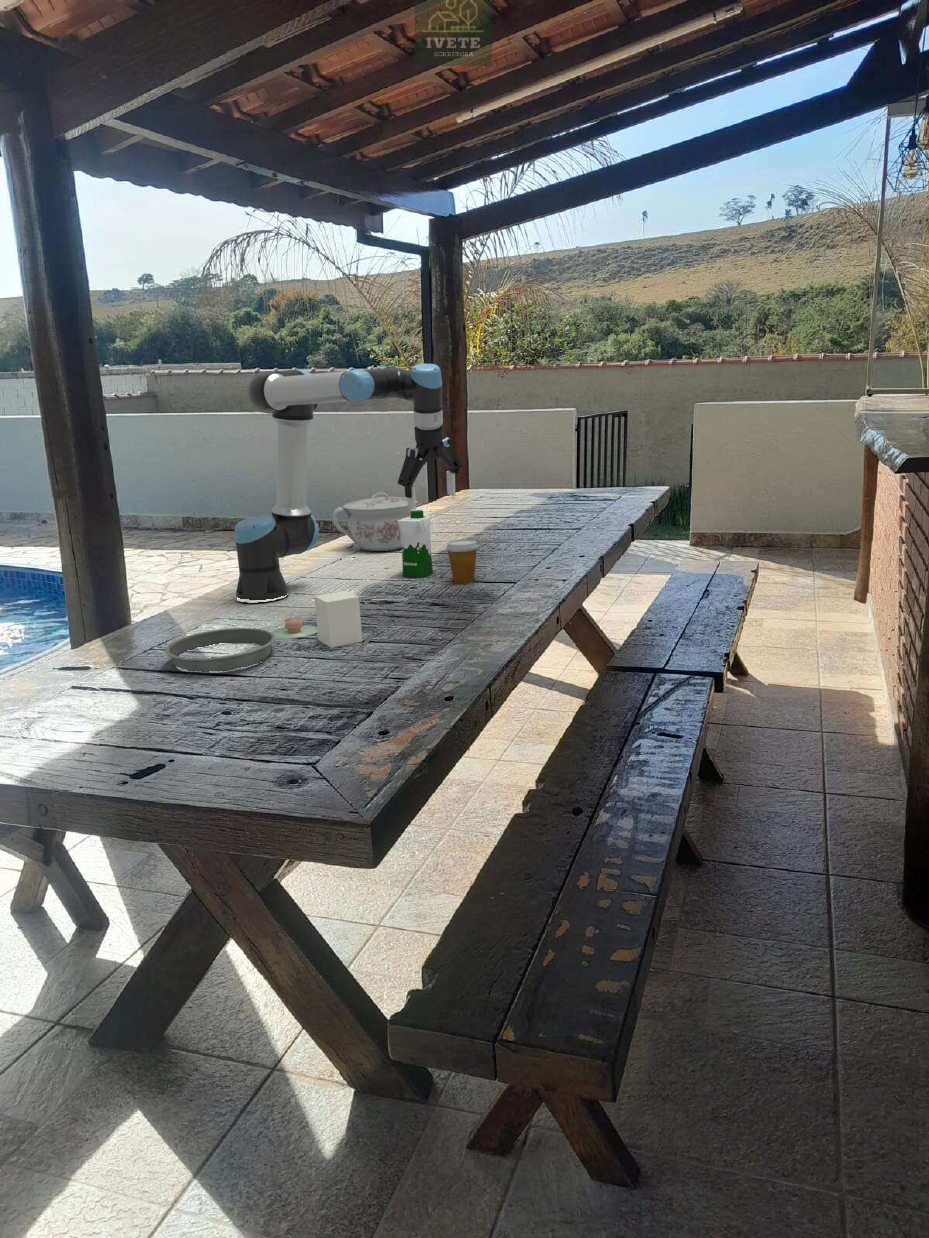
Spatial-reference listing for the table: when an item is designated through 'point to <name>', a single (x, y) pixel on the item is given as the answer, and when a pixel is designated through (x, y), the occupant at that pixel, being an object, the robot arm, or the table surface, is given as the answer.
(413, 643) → the table surface
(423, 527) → the milk carton
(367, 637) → the mat
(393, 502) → the chamber pot
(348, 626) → the white upright block
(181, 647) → the hoop
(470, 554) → the disposable coffee cup
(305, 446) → the robot arm
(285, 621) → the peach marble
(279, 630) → the plate
